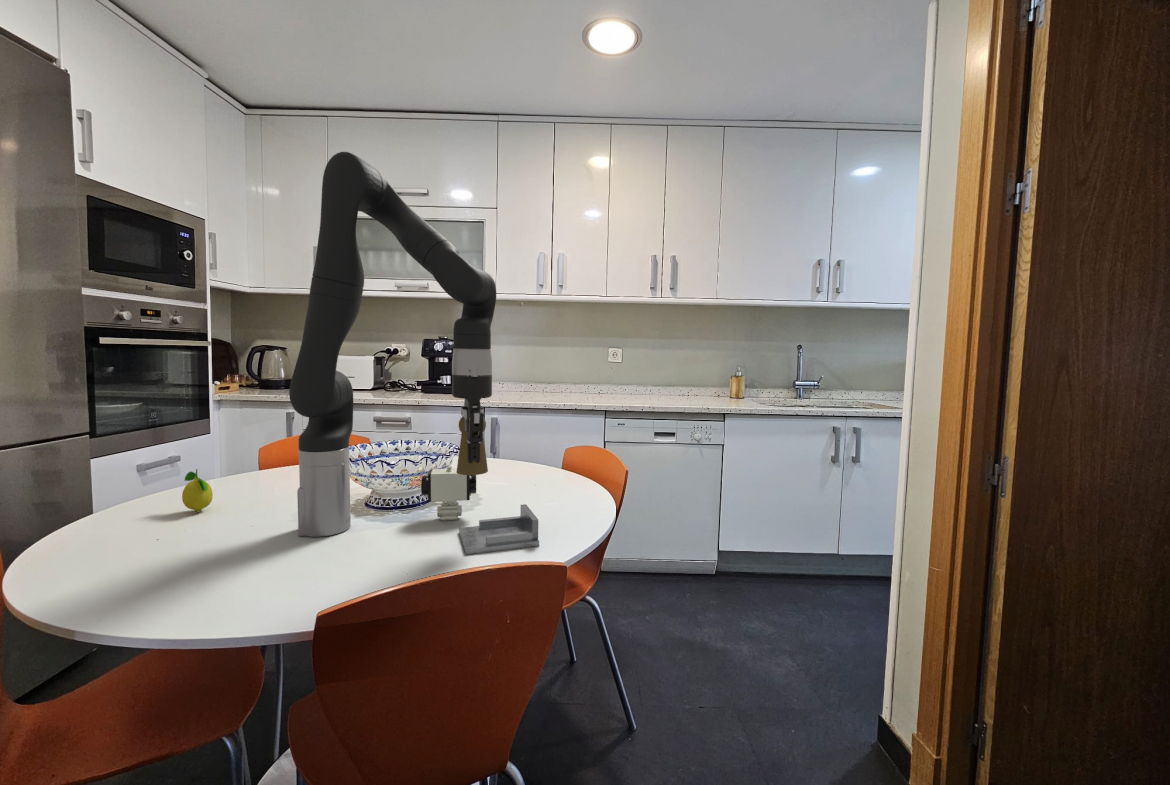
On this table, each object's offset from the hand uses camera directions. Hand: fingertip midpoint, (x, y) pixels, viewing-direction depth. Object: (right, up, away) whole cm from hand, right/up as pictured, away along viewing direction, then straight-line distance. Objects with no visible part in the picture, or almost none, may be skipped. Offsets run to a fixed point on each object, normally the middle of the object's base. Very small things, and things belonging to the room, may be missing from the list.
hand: (472, 460), depth 97 cm
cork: (0, -2, 0) cm, 2 cm away
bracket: (+4, -16, +3) cm, 17 cm away
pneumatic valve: (-9, -15, +15) cm, 23 cm away
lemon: (-66, -14, +16) cm, 70 cm away
